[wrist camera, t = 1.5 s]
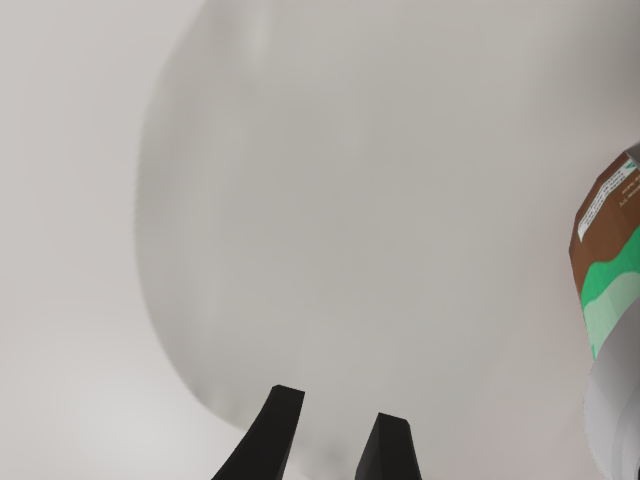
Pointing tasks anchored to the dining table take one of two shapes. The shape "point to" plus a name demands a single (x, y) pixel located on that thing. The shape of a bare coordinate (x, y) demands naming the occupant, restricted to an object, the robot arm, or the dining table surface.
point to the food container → (611, 315)
